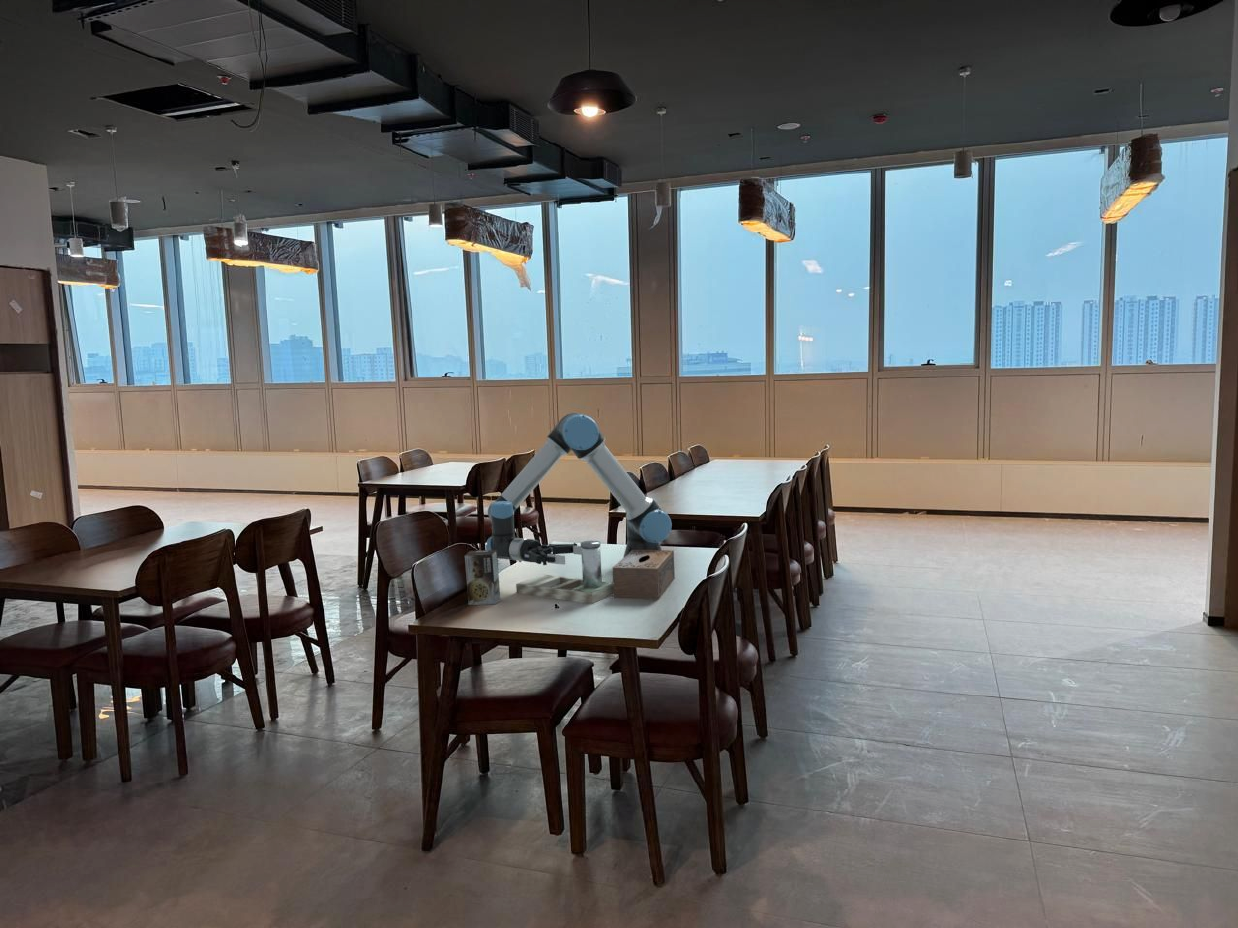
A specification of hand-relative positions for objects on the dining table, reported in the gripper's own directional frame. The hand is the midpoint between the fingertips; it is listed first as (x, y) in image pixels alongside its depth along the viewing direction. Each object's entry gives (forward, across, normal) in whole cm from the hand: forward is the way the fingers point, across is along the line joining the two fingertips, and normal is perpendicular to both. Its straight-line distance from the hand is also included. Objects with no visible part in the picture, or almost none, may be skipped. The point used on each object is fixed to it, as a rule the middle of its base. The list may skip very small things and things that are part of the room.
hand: (577, 555), depth 261 cm
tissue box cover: (+15, -16, -13) cm, 26 cm away
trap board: (-6, 0, -13) cm, 14 cm away
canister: (+5, 0, -9) cm, 11 cm away
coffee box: (-23, +20, -13) cm, 33 cm away
